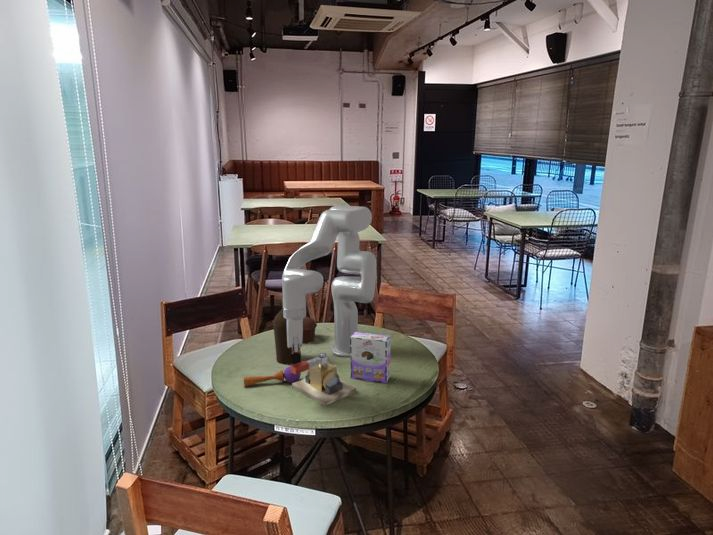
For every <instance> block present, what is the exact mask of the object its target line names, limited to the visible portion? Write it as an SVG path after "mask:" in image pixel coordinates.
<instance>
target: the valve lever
mask: <svg viewBox="0 0 713 535" xmlns="http://www.w3.org/2000/svg"><path fill="white" fill-rule="evenodd" d="M328 357H329V356H328V355H327V353H326V352H321V353H319V355H318V356H316V357H313V358H311V359H308V360H301V362H299V363H296V364H290V365H289V366H290V372H292V373H294V374H295V375H296V374H298V373H301V374H302V373H303V372H306V371H309V369H310V367H312V366H315V365H318V364H319V367H320V368H326V367H328V363H329V358H328Z"/></svg>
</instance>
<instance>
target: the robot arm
mask: <svg viewBox="0 0 713 535" xmlns="http://www.w3.org/2000/svg"><path fill="white" fill-rule="evenodd" d="M372 219H373V214H372V211H371V210H370V209H369V207H367V206H360V205H359V206H357V205H341V204H340V205H334V206H331V207H330V208H329V209H326V210H324V211H322V213H321V214H320V215H319V218H318V221H317V223H316V225H315V227H314V230H313V232H312V235H311V237H310V239H309V241H308V242H307V243H306V244H303V245H302V246H301V247H300V248H299V249H297V250H296V251H295V252H294V253H293V254H292V255H291V256H290V257H289V258H288V261H287V263H286V265H285V267H284V269H283V273H282V275H281V284H282V285H281V286H282V287H281V288H282V289H281V290H282V299H283V317H284V318H286V319H287V346H288V348H289V347H292V352H291V359H292V364H291V365H293V364H296V363H299V362H301V361H302V352H301V348H302V347H303V343H302V340H303V318H305V317H307V302H306V295H309V294H315V293H317V292H319V291H321V289H322V287H323V285H324V277H323V275H322V273H320V272H318V271H316V270H312V269H311V270H310V269H304V268H302V267H303V266H304V265H305V264H307V263H308V262H310V261H313V260H317V259H318V258H322V257H324V256H328V255H329V254H330V253H331V252H332V250H333V248H334V246H335V243H336V239H337V255H336V257H337V258H336V268H337V270H338V271H339V272H341V273H344V274H350V275H358V276H359V275H360V277H361V278H359V277H353V276H337V277H335V278H334V279H333V280H332V282H331V287H330V288H331V295H332V296H331V297H332V300H333V301H332V302H333V309H334V310H333V312H334V315H333V316H334V318H333V319H334V321H333V322H334V344H333V345H332V346H331V348H330V350H331V351H330V352H331V353H332V354H333V355H335V356H337V357H341V358H342V357H348V358H349V357H350V337H351V336H352V335H353V334H354V332H359V324H358V321H359V320H358V316H359V312H358V308H357V304H356V303H362V304H370V303H371V302H372V300H373V299H374V296H375V292H376V281H377V280H376V279H377V278H376V276H377V259H376V258H377V257H376V256H375V254H374V253H373V252H371V251H367V250H360V235H359V233H360V232H362V231H365V230H366V229H368V228H369V227H370V225H371V223H372Z"/></svg>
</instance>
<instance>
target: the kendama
mask: <svg viewBox="0 0 713 535" xmlns="http://www.w3.org/2000/svg"><path fill="white" fill-rule="evenodd" d="M290 366H291V365H289V366H287V367H286V368H285V369H284V370H283V369H282V370H279V371H278V372H276V373H275V374H274V375H262V376H248V377H247V376H244V377H243V385H244V388H245V387H249V386H250V387H251V386H252V385H257V384H260V383H264V382H268V381H270V380H275V381H281V382H285V381H286V382H288V383H291V384H292V383H295V382H297V381H299V379H300V377H301V374H302V372H301V373H298V374H296V375H295V374H294V373H292V372H290Z"/></svg>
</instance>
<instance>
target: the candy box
mask: <svg viewBox="0 0 713 535" xmlns="http://www.w3.org/2000/svg"><path fill="white" fill-rule="evenodd" d="M349 357H350V379H352V378H353V379H354V380H360V381H366V382H368V381H369V382H374V383H381V384H387V383H388V381H389V380H390V378H391V335H385V334H378V333H377V334H376V333H369V332H361V331H358V332H354V334H353V335H352V336H351V337H350V356H349Z"/></svg>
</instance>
